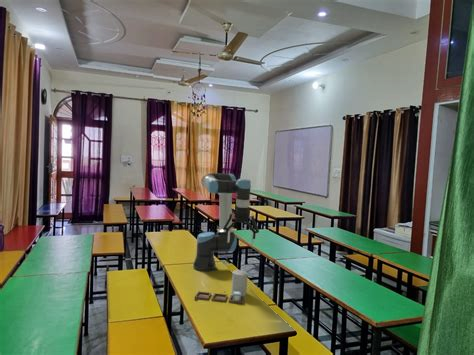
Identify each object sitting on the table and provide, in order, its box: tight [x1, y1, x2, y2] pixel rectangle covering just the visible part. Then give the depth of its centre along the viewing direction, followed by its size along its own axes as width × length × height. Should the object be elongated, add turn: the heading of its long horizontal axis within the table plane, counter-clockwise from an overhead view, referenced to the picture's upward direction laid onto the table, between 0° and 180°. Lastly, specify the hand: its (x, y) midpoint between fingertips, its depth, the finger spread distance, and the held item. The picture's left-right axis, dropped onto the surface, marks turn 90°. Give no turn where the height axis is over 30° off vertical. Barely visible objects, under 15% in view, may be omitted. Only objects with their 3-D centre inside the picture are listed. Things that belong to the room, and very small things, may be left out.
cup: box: [231, 269, 249, 297], centre depth 186 cm, size 8×8×12 cm
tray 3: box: [228, 294, 245, 305], centre depth 177 cm, size 7×7×2 cm
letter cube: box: [233, 291, 241, 301], centre depth 176 cm, size 4×4×4 cm
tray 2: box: [210, 292, 229, 303], centre depth 178 cm, size 7×7×2 cm
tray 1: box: [193, 290, 212, 301], centre depth 179 cm, size 7×7×2 cm
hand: (240, 243), depth 193 cm, fingers open, 13 cm apart
